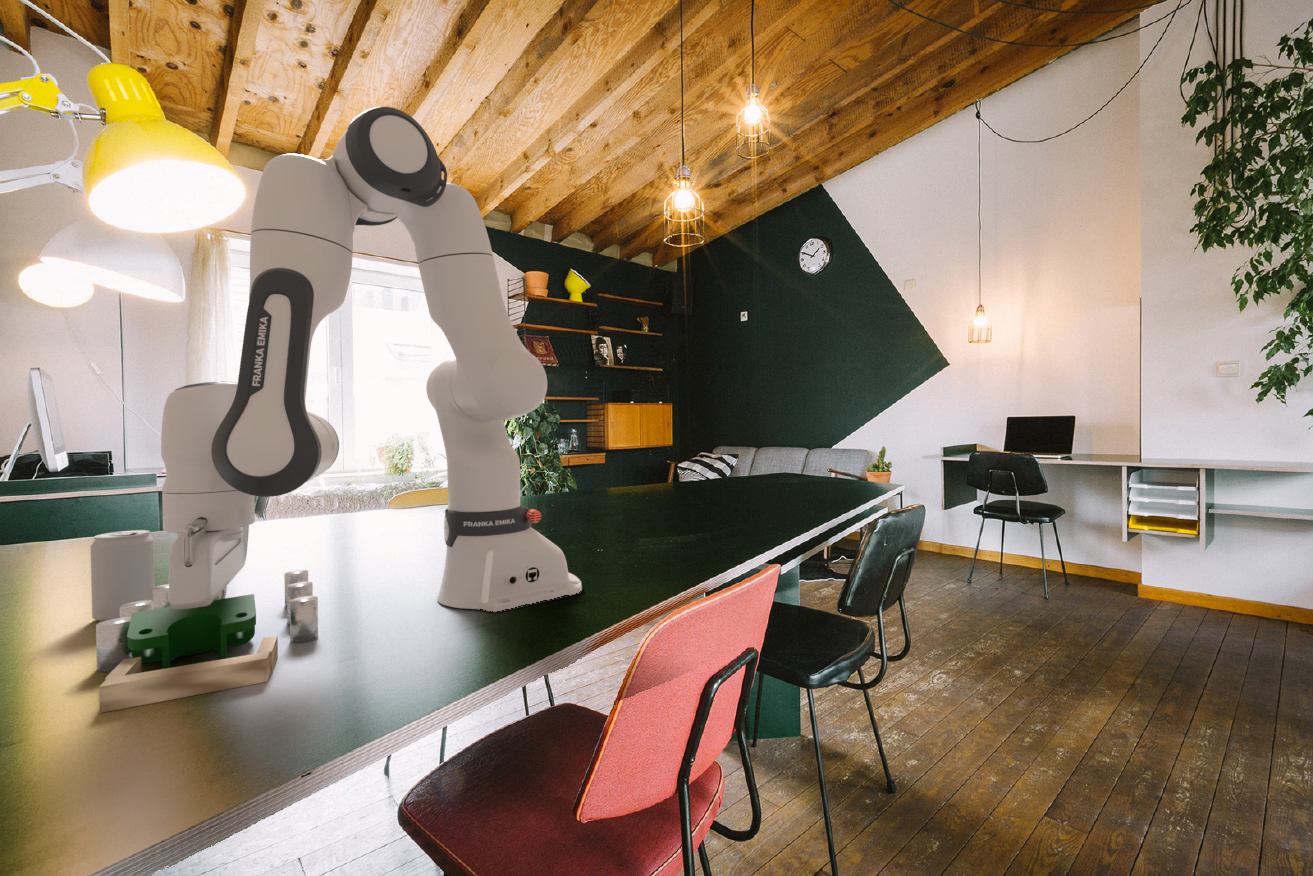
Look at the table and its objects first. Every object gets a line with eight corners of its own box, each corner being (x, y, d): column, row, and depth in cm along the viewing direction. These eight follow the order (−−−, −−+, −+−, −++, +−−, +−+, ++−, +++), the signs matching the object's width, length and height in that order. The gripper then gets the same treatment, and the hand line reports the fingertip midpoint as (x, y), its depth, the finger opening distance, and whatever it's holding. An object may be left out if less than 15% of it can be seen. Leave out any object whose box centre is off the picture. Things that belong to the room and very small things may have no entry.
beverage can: (115, 626, 74) (113, 538, 73) (79, 623, 75) (77, 536, 75) (166, 610, 80) (165, 529, 80) (132, 608, 81) (130, 528, 81)
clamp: (154, 709, 60) (104, 651, 56) (158, 676, 65) (112, 621, 61) (275, 646, 66) (237, 590, 62) (271, 620, 71) (236, 567, 67)
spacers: (324, 598, 85) (323, 567, 85) (317, 640, 69) (316, 601, 69) (146, 622, 75) (146, 586, 75) (88, 677, 59) (87, 631, 58)
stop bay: (277, 656, 64) (277, 635, 64) (269, 681, 58) (269, 657, 58) (124, 682, 57) (123, 659, 57) (96, 713, 51) (96, 687, 51)
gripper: (223, 523, 60) (225, 648, 60) (256, 501, 78) (258, 597, 78) (147, 529, 57) (150, 660, 57) (200, 504, 75) (202, 603, 75)
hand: (213, 623), depth 68 cm, fingers closed
